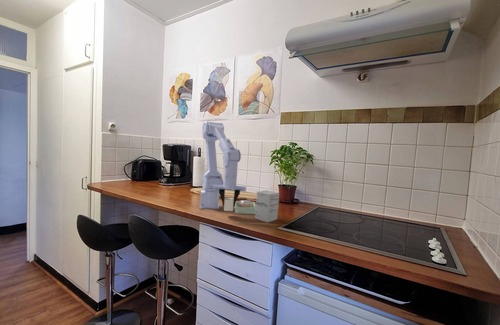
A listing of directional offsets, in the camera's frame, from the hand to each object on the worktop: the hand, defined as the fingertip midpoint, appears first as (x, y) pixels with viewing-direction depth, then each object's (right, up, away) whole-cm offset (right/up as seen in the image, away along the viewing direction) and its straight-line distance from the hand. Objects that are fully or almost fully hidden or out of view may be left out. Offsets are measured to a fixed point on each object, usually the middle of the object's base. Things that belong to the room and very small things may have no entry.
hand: (228, 206), depth 105 cm
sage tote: (+7, -5, +12) cm, 14 cm away
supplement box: (+17, -6, -1) cm, 18 cm away
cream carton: (0, -2, 0) cm, 2 cm away
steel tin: (+7, -4, +13) cm, 15 cm away
